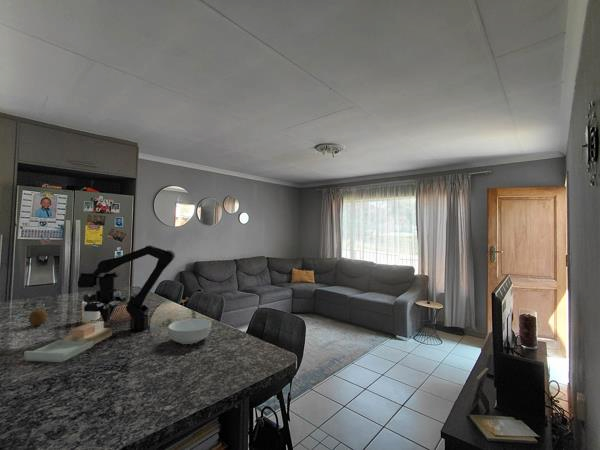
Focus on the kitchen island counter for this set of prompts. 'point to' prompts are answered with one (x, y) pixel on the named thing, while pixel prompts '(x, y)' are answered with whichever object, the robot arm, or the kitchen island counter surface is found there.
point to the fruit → (37, 317)
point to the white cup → (89, 313)
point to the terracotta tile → (82, 331)
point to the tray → (57, 351)
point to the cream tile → (96, 325)
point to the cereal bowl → (189, 330)
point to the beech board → (91, 336)
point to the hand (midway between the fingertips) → (105, 322)
